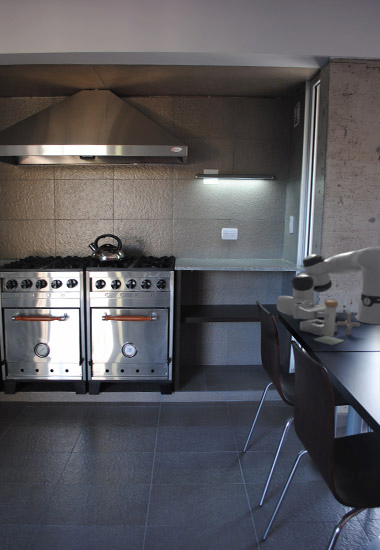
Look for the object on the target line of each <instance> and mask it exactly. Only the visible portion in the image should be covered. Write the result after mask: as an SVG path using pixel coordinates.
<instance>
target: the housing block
mask: <svg viewBox="0 0 380 550" xmlns="http://www.w3.org/2000/svg"><path fill="white" fill-rule="evenodd" d="M323 328H324V319H319V318H313V319H306V320H303V321H302V320H301V321H300V323H299V331H300V332H301V331H302V332H306V333H308V332H309V334H313V335H317V336H320V337H323V336H324V335H323ZM337 330H338V325H337V322H335V327H334V333H337Z"/></svg>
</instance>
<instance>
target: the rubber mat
mask: <svg viewBox="0 0 380 550" xmlns="http://www.w3.org/2000/svg"><path fill="white" fill-rule="evenodd" d="M313 341H315V342H320V343H323V344H326V345H330V346H333V345H337V344H341V343H344V341H345V340H344V339H340V338H338V337H337V338H336V337H334V336H331V337H329V336H324V335H322V336H320V337H316V338H313Z"/></svg>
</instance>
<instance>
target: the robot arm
mask: <svg viewBox="0 0 380 550" xmlns="http://www.w3.org/2000/svg"><path fill="white" fill-rule="evenodd" d="M302 266H303V268H304V270H305V272H303V271H302V272H301V271H300V272H298V273H296V275H295V276H294V277H293V278H292V279H291V286H292V296H291V295H279V296H278V298H277V299H276V309H277V311H279V312H280V313H282V314H285V315H288V316H293V319H296V320H298V319H301V320H312V319H319V318H328V317H329V314H328V313H325V306H326V305H325V303H324V304H315V294H314V293H315V292H316V293H324V292H326V291H327V292H328V291H329V290H331V288H332V286H333V284H332V279H331V278H330V275H343V274H344V275H345V274H351V273H357V272H361V273H362V274H361V275H362V292H361V294H360V301H359V303H358V307H357V313H356V315H354V318H355V319H356V321H358V322H359V323H365V324H370V325H380V246H368V247H365V248H362V249H358V250H353V251H347V252H343V253H339V254H336V255H335V254H334V255H332V256H330V257H328V258H326V257H325V256H324V255H323V256H322V255H321V254H317V253H313V254H309V255H307V256H306V257H304V259H302ZM337 316H338V312H337V311H336V316H335V317H337Z"/></svg>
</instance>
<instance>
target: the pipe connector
mask: <svg viewBox="0 0 380 550" xmlns="http://www.w3.org/2000/svg"><path fill="white" fill-rule="evenodd" d="M336 324H337V326H343V327H345V336H350V335H351V329H352V328H353V327H355V328H356V327H358V328H359V327H361V322H354V321H353V322H352V313H350V312H349V313H348V312H347V313H346V319H345V321H337V322H336Z"/></svg>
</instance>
